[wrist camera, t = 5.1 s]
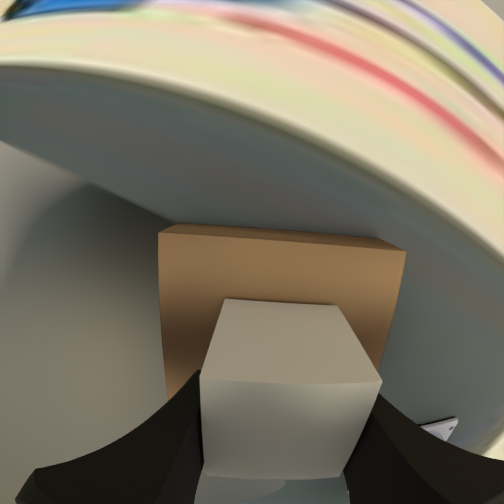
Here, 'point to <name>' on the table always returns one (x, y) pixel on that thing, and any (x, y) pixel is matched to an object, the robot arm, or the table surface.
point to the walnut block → (268, 284)
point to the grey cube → (283, 391)
